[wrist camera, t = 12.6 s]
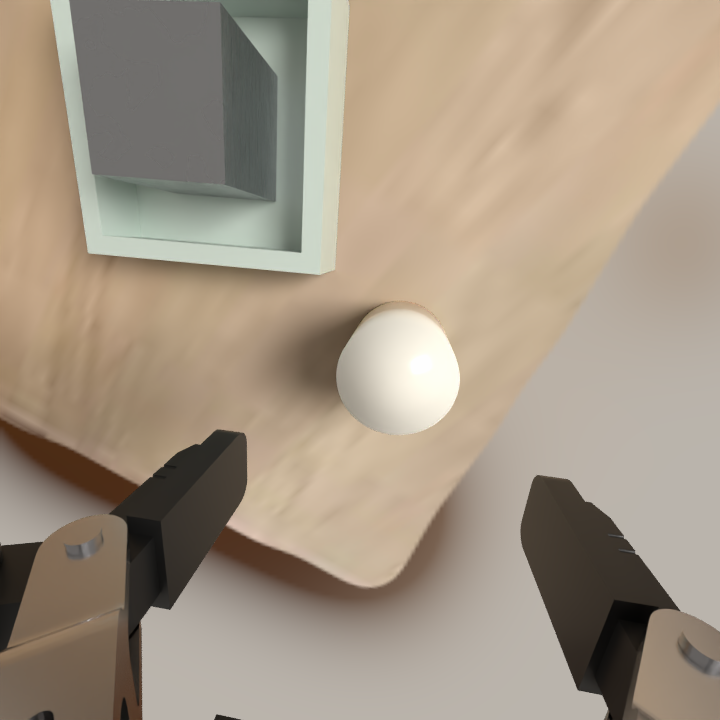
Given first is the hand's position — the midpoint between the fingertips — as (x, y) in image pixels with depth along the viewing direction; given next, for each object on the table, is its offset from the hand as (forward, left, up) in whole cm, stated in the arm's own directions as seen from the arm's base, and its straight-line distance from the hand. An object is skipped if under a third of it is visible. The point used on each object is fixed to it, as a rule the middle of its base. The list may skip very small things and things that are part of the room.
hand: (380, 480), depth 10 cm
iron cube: (+11, -11, -13) cm, 20 cm away
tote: (+11, -11, -14) cm, 21 cm away
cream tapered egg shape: (0, 0, -14) cm, 14 cm away
